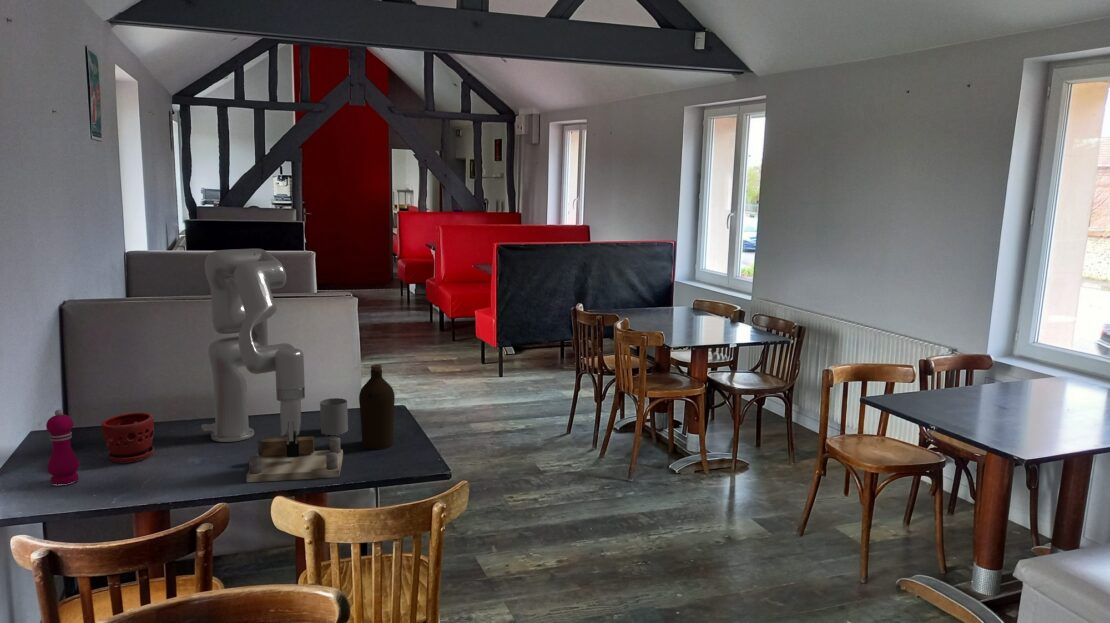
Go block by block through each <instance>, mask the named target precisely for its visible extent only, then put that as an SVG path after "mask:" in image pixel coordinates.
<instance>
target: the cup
mask: <svg viewBox="0 0 1110 623" xmlns="http://www.w3.org/2000/svg"><path fill="white" fill-rule="evenodd" d="M319 406H320V407H319V410H320V413H319V414H320V416H319V417H320V433H321V435H323V434H325V435H324V436H328V435H336V436H340V435H339V434H342V435H344V434H343V433H345V432H347V431H348V432H349V419H348V417H349V415H348V414H349V413H348V400H347V399H345V398H338V397H336V398H328V399H323V400H321V401H320V402H319ZM348 432H347V433H348ZM345 434H346V433H345Z"/></svg>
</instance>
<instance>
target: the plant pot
mask: <svg viewBox="0 0 1110 623" xmlns="http://www.w3.org/2000/svg"><path fill="white" fill-rule="evenodd" d="M154 424H155V423H154V416H153V415H152V414H151V413H147V412H130V413H129V412H128V413H123V414H119V415H115V416H111V417H108V418H106V419H105V420H103V421H102V422H101V433H102V437H103V441H104V443H105V447H107V449H108V451H109V452H110V453H109V455H108V458H109V459H110V460H111V461H112V462H113V463H114V462H115V463H117V464H118V463H121V464H123V463H124V464H129V463H133V462H134V463H137V462H139V461H143V460H146V459H147V458H149V457H151V456H152V455H153V454H154V452H155V446H152V445H153V444H152V443H153V440H154V434H155V425H154Z"/></svg>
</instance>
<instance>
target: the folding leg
mask: <svg viewBox="0 0 1110 623" xmlns="http://www.w3.org/2000/svg"><path fill="white" fill-rule="evenodd" d="M298 441H299V454H304V453H314V451H315V436H312V435H311V436H298ZM286 444H287V437H277V438H276V437H275V438H262V439H258V440H257V454H258V455H262V456H266V455H285V454H287V445H286Z"/></svg>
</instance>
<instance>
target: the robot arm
mask: <svg viewBox="0 0 1110 623" xmlns="http://www.w3.org/2000/svg"><path fill="white" fill-rule="evenodd" d="M204 260H205V261H204V272H205V276H206V279H207V281H208V285H209V289H210V294H211V296H210V299H211V300H210V301H211V302H210V303H211V318H212V320H211V321H212V327H213V328H214V331H215V332H216V333H217V334H220V335H228V334H229V335H230V334H238V336H230V337H223V338H218V339H215V340H213V342H211V343H210V345H209V346H208V350H207V354H208V359H209V363H210V367H211V372H212V379H213V380H212V381H213V395H214V396H213V397H214V398H213V399H214V400H213V401H214V414H215V417H214V418H215V422H213V423H212V424H206V423H205V424H201V427H200V428H201V431H203V432H204V433H209V432H210V433H211V434H210V436H211V437H210V439H211V440H213V441H214V442H219V443H231V442H233V443H234V442H239V441H244V440H247V439H249V438H251V437H253V436H254V435H255V430H254V429H253V427H252V428H251V427H250V426H249V406H248V404H249V403H248V387H247V386H248V385H247V380H246V377H245V376H244V374H242V372H240V371H239V369H238V368H242V367H245V368H246V370H247V371H248V372H249V373H251V374H253V375H259V374H261V375H262V374H267V373H272V372H275V393H276V396H275V397H276V400H277V402H278V401H279V402H280V405H279V406H280V408H279V409H280V410H279V411H280V412H279V415H280V416H279V417H280V436H281V437H284V436H286V438H287V444H286V445H287V457H288V458H290V457H299V441H298V437H299V435H300V431H301V424H302V423H301V422H302V403H301V402H302V400H304V399H305V398H306V389H305V388H306V387H305V386H306V385H305V383H306V382H305V361H304V359H305V358H304V352H303V350H301V349H299V348H295V347H294V346H293V345H292V344H291V343H285V342H284V343H275V344H269V338H268V336H269V335H268V319H269V318H271V317H273V315H275V314H276V312H277V304H276V302H275V299H274V296H273V294H272V290H275V289H281V288H283V287H285V285H286V282H287V273H286V272H287V271H286V270H285V267H284V265H283V264H282V263H281V261H280V260H278V259H277V258H276V257H275V256H274V255H272V254H271V253H270V252H268V251H266V250H264V249H262V248H240V249H239V248H238V249H237V248H236V249H235V248H234V249H233V248H232V249H221V250H220V249H219V250H214V251H212V252H210V253H209V254H208V255H207V256H206V258H205V259H204Z"/></svg>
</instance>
